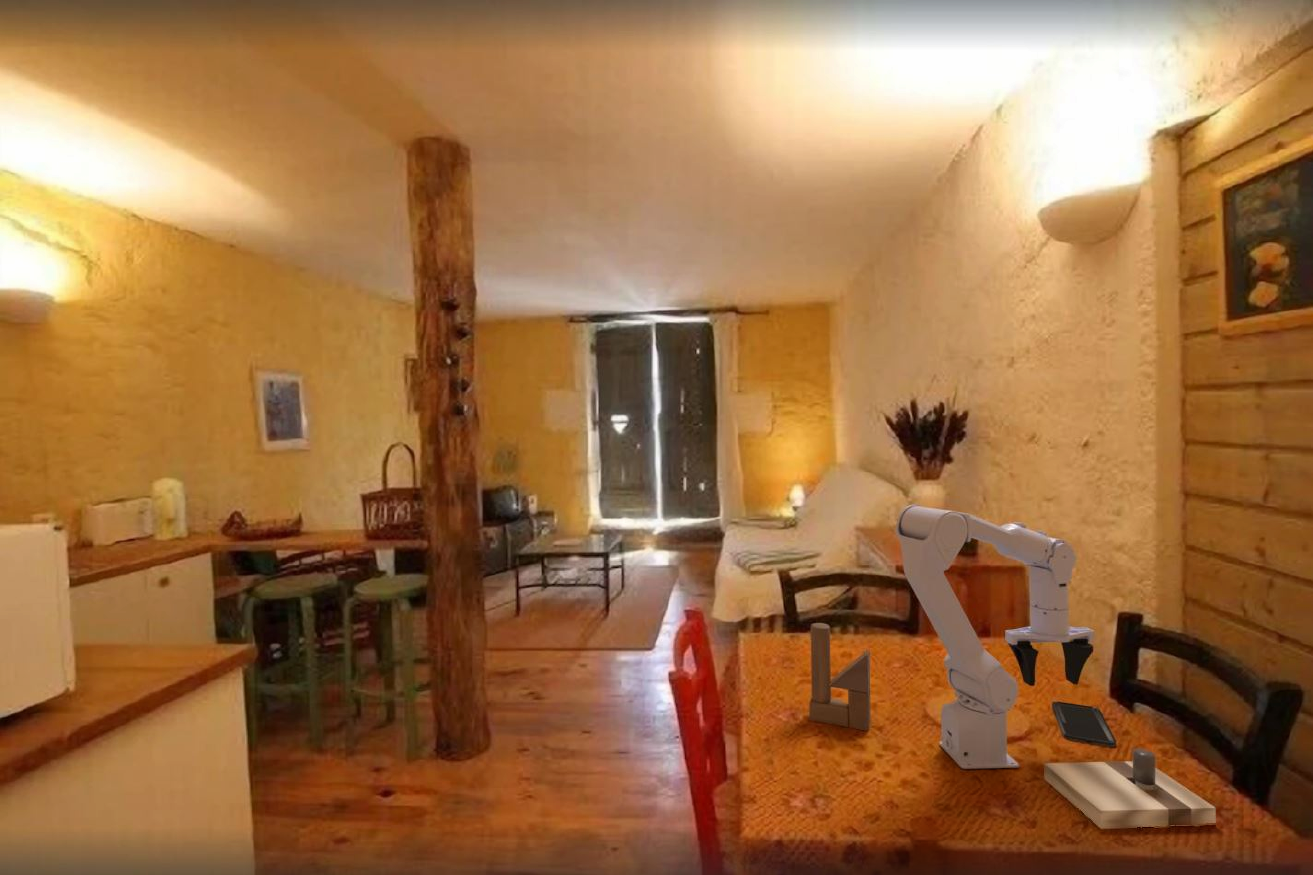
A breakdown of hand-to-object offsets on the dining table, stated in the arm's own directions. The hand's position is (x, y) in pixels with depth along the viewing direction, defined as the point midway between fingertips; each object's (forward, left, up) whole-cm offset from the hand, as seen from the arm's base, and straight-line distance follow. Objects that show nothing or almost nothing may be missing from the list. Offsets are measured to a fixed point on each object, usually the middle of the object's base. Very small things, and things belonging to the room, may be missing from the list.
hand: (1050, 682), depth 107 cm
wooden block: (-34, +9, -11) cm, 37 cm away
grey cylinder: (+3, -17, -10) cm, 20 cm away
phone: (+10, +6, -11) cm, 16 cm away
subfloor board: (0, -17, -10) cm, 20 cm away
